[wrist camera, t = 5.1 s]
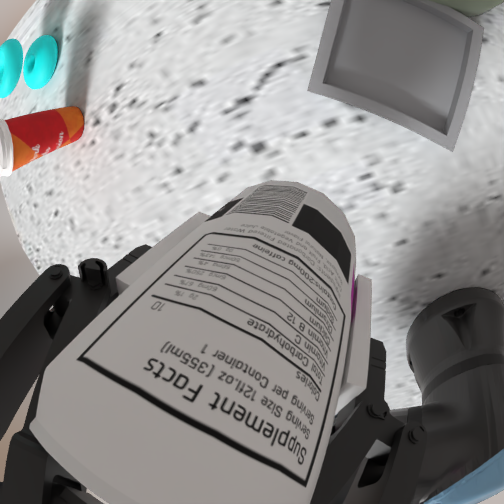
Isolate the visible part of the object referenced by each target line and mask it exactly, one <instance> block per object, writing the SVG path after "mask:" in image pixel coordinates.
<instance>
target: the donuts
mask: <svg viewBox="0 0 504 504" xmlns="http://www.w3.org/2000/svg"><path fill="white" fill-rule="evenodd" d="M57 57H58V47H57V43H56V40H55V39H54V38H53V37H52V36H50V35H43V36H41V37H39V38H37V39H36V40H35V41H34V42H33V43H32V45H31V46H30V48H29V50H28V52H27V54H26V57H25V60H24V67H23V74H24V79H25V82H26V84H27V85H28V86H29V87H30V88H32V89H40V88H42V87H43V86H45V85H46V84H47V83H48V81H49V80H50V79H51V77H52V75H53V73H54V70H55V67H56V63H57ZM22 64H23V50H22V46H21V44H20V42H19V41H18V40H16V39H9V40H7V41H5V42H4V43H3V44H2V45H1V46H0V98H4V97H7V96H8V95H9V94H11V92H12V91H13V90H14V88H15V87H16V85H17V83H18V80H19V78H20V74H21V70H22Z"/></svg>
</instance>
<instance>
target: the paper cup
mask: <svg viewBox="0 0 504 504" xmlns="http://www.w3.org/2000/svg"><path fill="white" fill-rule="evenodd" d="M83 130H84V118H83V114H82V112H81V110H80V109H79V108H78V107H75V106H72V107H64V108H58V109H52V110H46V111H41V112H37V113H32V114H28V115H23V116H19V117H15V118H12V119H8V120H3V119H0V176H4V175H5V176H9V175H10V174H11V173H12V171H14V170H16V169H18V168H20V167H21V166H23V165H25V164H27V163H29V162H31V161H33V160H35V159H37V158H39V157H41V156H43V155H46V154H48V153H50V152H52V151H54V150H56V149H59V148H61V147H63V146H65V145H68V144H70V143H72V142H74V141H77V140H78V139H79V138H80V137H81V136H82V133H83Z"/></svg>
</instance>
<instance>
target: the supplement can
mask: <svg viewBox="0 0 504 504" xmlns="http://www.w3.org/2000/svg"><path fill="white" fill-rule="evenodd" d="M355 269H356V248H355V236H354V234H353V231H352V229H351V227H350V225H349V223H348V221H347V219H346V217H345V215H344V213H343V212H342V211H341V210H340V209H339V208H338V207H337V206H336V205H335V204H334V203H333V202H332V201H331V200H330V199H329V198H328V197H327V196H326V195H325V194H323V193H321V192H319V191H317V190H314V189H312V188H310V187H308V186H305V185H303V184H301V183H298V182H288V181H272V180H271V181H267V182H264V183H261V184H258V185H255V186H251V187H248V188H246V189H245V190H244V191H242V192H241V193H240V194H239V195H237V196H236V197H235V198H233V199H232V200H231V201H230V202H228V203H227V204H226V205H225V206H223V207H222V208H221V209H220V210H218V211H217V212H216V213H215V214H213V215H212V216H211V217H210V218H208V219H207V220H206V221H205V222H204V223H202V224H201V225H200V226H199V227H197V228H196V229H195V230H194V231H193V232H191V233H190V234H189V235H188V236H187V237H185V238H184V239H183V240H182V241H181V242H179V243H178V244H177V245H176V246H175V247H174V248H172V249H171V250H170V251H169V252H168V253H167V254H165V255H164V256H163V257H162V258H161V259H160V260H158V261H157V262H156V263H155V264H154V265H153V266H152V267H150V268H149V269H148V270H147V271H146V272H145V273H144V274H143V275H141V276H140V277H139V278H138V279H137V280H136V281H135V282H134V283H133V284H131V285H130V286H129V287H128V288H127V289H126V290H125V291H124V292H123V293H122V294H120V295H119V296H118V297H117V298H116V299H115V300H114V301H113V302H112V303H111V304H110V305H109V306H108V307H107V308H105V309H104V310H103V311H102V312H101V313H100V314H99V315H98V316H97V317H96V318H95V319H94V320H93V321H92V322H91V323H90V324H89V325H88V326H87V327H86V328H85V329H84V330H83V331H82V332H81V333H80V334H79V335H78V336H77V337H76V338H75V339H74V340H73V341H72V342H71V343H70V344H69V345H68V346H67V347H66V348H65V349H64V350H63V351H62V352H61V353H60V354H59V355H58V356H57V357H56V358H55V359H54V360H53V361H52V362H51V363H50V364H49V365H48V366H47V367H46V369H45V372H44V376H43V380H42V385H41V390H40V395H39V401H38V407H37V413H36V417H35V419H34V420H33V421H32V422H31V423H30V428H29V429H30V430H31V431H32V433H33V434H34V436H35V437H36V438H37V440H38V441H39V442H40V444H41V445H42V446H43V447H44V449H45V450H46V451H47V452H48V453H49V454H50V455H51V456H52V457H53V458H54V459H55V460H56V461H57V462H58V463H59V464H60V465H61V466H62V467H63V468H64V469H65V470H66V471H68V472H69V473H70V474H71V475H72V476H73V477H74V478H75V479H77V480H78V481H79V482H80V483H81V484H83V485H84V486H85V487H86V488H87V489H89V490H90V491H92V492H93V493H94V494H96V495H97V496H99V497H100V498H102V499H103V500H104V501H106V502H108V503H109V504H310V501H311V499H312V496H313V493H314V490H315V487H316V483H317V480H318V477H319V474H320V471H321V467H322V464H323V460H324V457H325V453H326V449H327V446H328V442H329V438H330V434H331V430H332V426H333V422H334V417H335V413H336V408H337V403H338V398H339V393H340V388H341V383H342V377H343V372H344V366H345V359H346V353H347V346H348V339H349V331H350V323H351V314H352V305H353V294H354V283H355Z"/></svg>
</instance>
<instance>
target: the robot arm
mask: <svg viewBox="0 0 504 504" xmlns="http://www.w3.org/2000/svg"><path fill="white" fill-rule="evenodd" d="M210 217H211V216H209V215H206V214H203V213H201V212H198V213H197V214H195V215H194V216H193V217H191V218H190V219H189V220H187V221H186V222H185V223H183V224H182V225H181V226H179V227H178V228H177V229H175V230H174V231H173V232H171V233H170V234H169V235H167V236H166V237H165V238H164V239H162V240H161V241H160V242H158V243H157V244H156V245H155V246H153V247H150V246H148V245H146V244H145V245H143V246H140V247H137V248H135V249H134V250H133V251H131V252H130V253H129V254H127V255H126V256H125V257H123V259H121V260H120V261H118V262H117V263H116V264H114V265H113V266H112V267H111V268H109V269H108V270H107V265H106V263H105V262H104V261H103V260H100V259H97V258H91V259H87V260H84V261H83V262H81V263H80V264H79V265H78V269H79V274H80V278H79V277H75V276H71V275H70V272H69V269H68V267H66V266H65V265H62V264H56V265H53V266H50V267H49V268H48V269H46V270H45V271H44V272H43V273H42V274H41V275H40V276H39V277H38V278H37V280H35V282H34V283H33V284H32V285H31V286H30V287H29V288H28V289H27V290H26V291H25V292H24V293H23V294H22V295H21V296H20V297H19V299H18V300H17V301H16V302H15V303H14V304H13V305H12V307H11V308H10V309H9V310H8V311H7V312H6V313H5V314H4V316H3V317H2V318H1V319H0V440H1V439H2V437H3V435H4V434H5V433H6V431H7V429H8V427H9V425H10V423H11V421H12V420H13V418H14V416H15V414H16V412H17V411H18V409H19V407H20V405H21V404H22V402H23V400H24V399H25V397H26V395H27V393H28V392H29V390H30V388H31V387H32V385H33V384H34V382H35V380H36V379H37V377H38V376H39V378H38V380H37V383H36V386H35V389H34V392H33V396H32V399H31V402H30V405H29V409H28V412H27V416H26V420H25V424H24V427H23V429H22V430H21V431H19V432H17V433H15V434H14V435H13V436H12V439H11V441H10V445H9V451H8V455H7V461H6V467H5V474H4V481H3V482H0V504H103V503H102V502H100V501H99V500H98V499H96V498H95V497H93V496H92V495H91V494H89V493H86V489H87V488H86V487H85V486H84V485H83V484H81V483H80V482H79V481H78V480H77V479H75V478H74V477H73V476H72V475H71V474H70V473H69V472H68V471H66V470H65V469H64V468H63V467H62V466H61V465H60V464H59V463H58V462H57V461H56V460H55V459H54V458H53V457H52V456H51V455H50V454H49V453H48V452H47V451H46V450H45V449H44V447H43V446H42V445H41V444H40V442H39V441H38V440H37V438H36V437H35V436H34V434H33V433H32V431H31V430H30V429H29V428H30V423H31V422H32V421H33V420H34V419H35V417H36V413H37V407H38V401H39V395H40V390H41V385H42V380H43V376H44V372H45V369H46V367H47V366H48V365H49V364H50V363H51V362H52V361H53V360H54V359H55V358H56V357H57V356H58V355H59V354H60V353H61V352H62V351H63V350H64V349H65V348H66V347H67V346H68V345H69V344H70V343H71V342H72V341H73V340H74V339H75V338H76V337H77V336H78V335H79V334H80V333H81V332H82V331H83V330H84V329H85V328H86V327H87V326H88V325H89V324H90V323H91V322H92V321H93V320H94V319H95V318H96V317H97V316H98V315H99V314H100V313H101V312H102V311H103V310H104V309H105V308H107V307H108V306H109V305H110V304H111V303H112V302H113V301H114V300H115V299H116V298H117V297H118V296H119V295H120V294H122V293H123V292H124V291H125V290H126V289H127V288H128V287H129V286H130V285H131V284H133V283H134V282H135V281H136V280H137V279H138V278H139V277H140V276H141V275H143V274H144V273H145V272H146V271H147V270H148V269H149V268H150V267H152V266H153V265H154V264H155V263H156V262H157V261H158V260H160V259H161V258H162V257H163V256H164V255H165V254H167V253H168V252H169V251H170V250H171V249H172V248H174V247H175V246H176V245H177V244H178V243H179V242H181V241H182V240H183V239H184V238H185V237H187V236H188V235H189V234H190V233H191V232H193V231H194V230H195V229H196V228H197V227H199V226H200V225H201V224H202V223H204V222H205V221H206V220H207V219H208V218H210ZM371 300H372V283H371V279H369V278H366V277H364V276H362V275H359V274H358V276H357V278H356V280H355V283H354V294H353V305H352V314H351V323H350V331H349V339H348V346H347V353H346V359H345V366H344V372H343V377H342V383H341V388H340V393H339V398H338V403H337V408H336V413H335V417H334V422H333V426H332V430H331V434H330V438H329V442H328V446H327V449H326V453H325V457H324V460H323V464H322V467H321V471H320V474H319V477H318V480H317V483H316V487H315V490H314V493H313V496H312V499H311V501H310V504H477V503H479V502H481V501H484V500H486V499H488V498H490V497H492V496H494V495H496V494H498V493H499V492H501V491H503V490H504V304H503V302H502V301H501V299H500V298H499V297H498V296H497V295H496V294H495V293H494V292H492V291H490V290H487V289H483V288H466V289H461V290H458V291H455V292H452V293H449V294H447V295H445V296H443V297H441V298H439V299H438V300H436V301H435V302H433V303H432V304H430V305H429V306H428V307H427V308H426V309H424V310H423V311H422V312H421V313H420V314H419V316H418V317H417V318H416V319H415V321H414V322H413V324H412V325H411V327H410V329H409V332H408V335H407V339H406V350H407V360H408V364H409V366H410V368H411V370H412V371H413V373H414V376H415V379H416V381H417V384H418V386H419V388H420V390H421V393H422V406H416V407H410V408H402V409H394V410H390V409H389V406H388V404H387V403H386V402H385V401H384V392H385V374H386V371H385V369H386V363H385V362H386V350H385V348H384V345H383V342H381V341H378V340H375V339H373V338H370V334H371ZM52 305H53V308H52V309H51V310H49V309H50V308H51V306H52ZM39 374H40V375H39Z"/></svg>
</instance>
